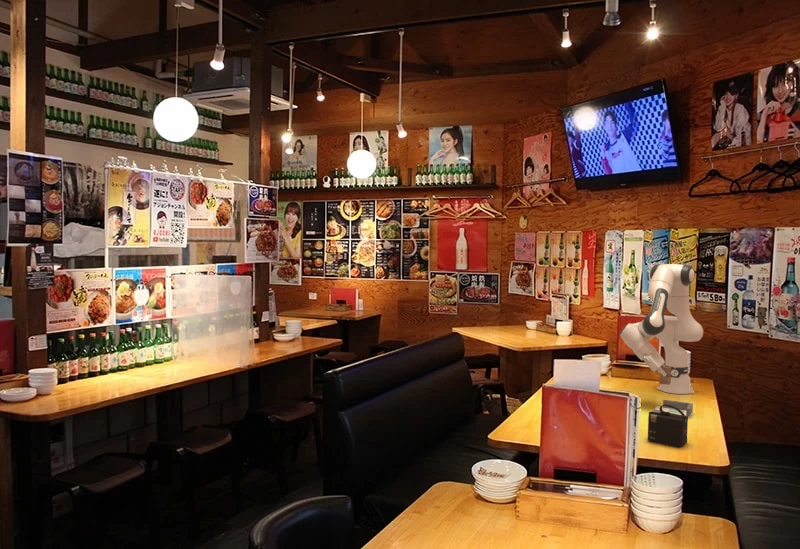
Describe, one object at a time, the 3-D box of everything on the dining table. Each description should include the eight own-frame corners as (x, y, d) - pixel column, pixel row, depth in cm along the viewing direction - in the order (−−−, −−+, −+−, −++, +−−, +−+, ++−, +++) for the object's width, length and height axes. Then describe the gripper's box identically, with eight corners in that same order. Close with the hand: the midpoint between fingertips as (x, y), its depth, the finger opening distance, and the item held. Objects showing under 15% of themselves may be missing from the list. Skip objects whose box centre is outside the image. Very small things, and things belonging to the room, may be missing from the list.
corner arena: (656, 407, 313) (657, 398, 312) (692, 412, 304) (692, 403, 304) (652, 413, 302) (653, 404, 302) (689, 418, 294) (690, 409, 293)
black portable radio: (653, 435, 267) (655, 399, 266) (689, 442, 258) (690, 405, 258) (645, 441, 259) (646, 404, 258) (681, 448, 250) (682, 410, 249)
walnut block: (660, 382, 314) (661, 365, 314) (670, 383, 312) (671, 366, 312) (659, 383, 310) (659, 367, 310) (669, 384, 308) (669, 368, 308)
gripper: (647, 351, 305) (668, 373, 300) (654, 346, 323) (674, 367, 318) (637, 359, 307) (658, 382, 303) (645, 353, 325) (664, 375, 320)
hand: (666, 374), depth 311 cm, fingers closed on walnut block, 4 cm apart
